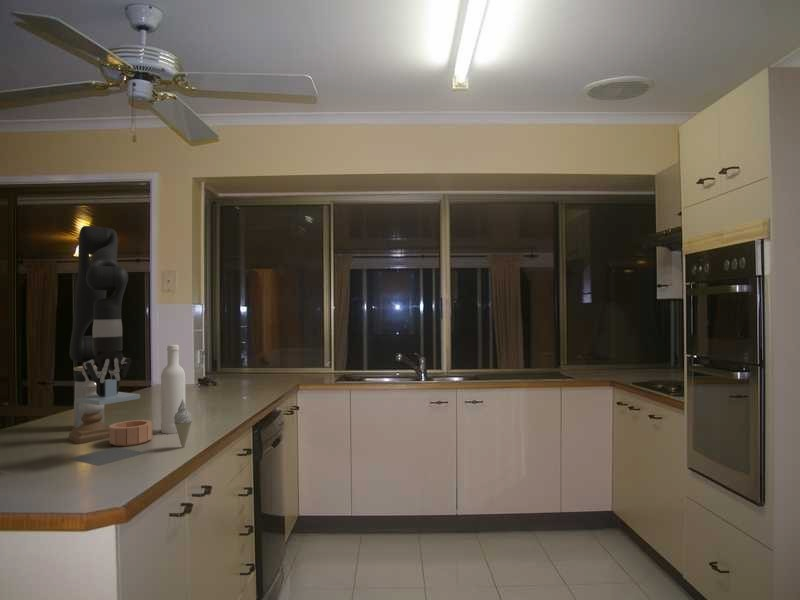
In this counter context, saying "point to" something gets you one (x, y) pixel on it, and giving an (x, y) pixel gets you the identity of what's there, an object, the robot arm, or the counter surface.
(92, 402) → the lid
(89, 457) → the mat
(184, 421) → the ice cream cone
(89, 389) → the candle holder
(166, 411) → the bottle
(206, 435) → the counter surface
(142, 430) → the bowl
